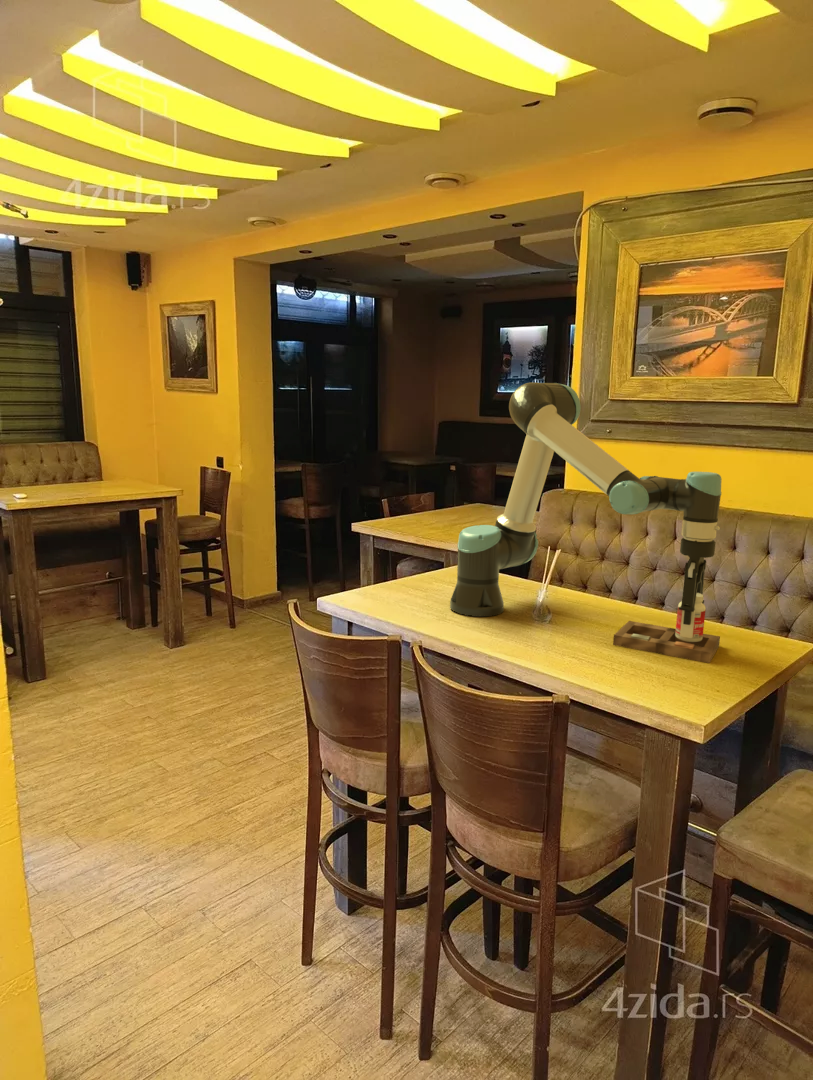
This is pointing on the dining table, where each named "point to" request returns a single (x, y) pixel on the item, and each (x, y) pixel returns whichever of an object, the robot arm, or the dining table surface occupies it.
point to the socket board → (665, 641)
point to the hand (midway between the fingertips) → (689, 632)
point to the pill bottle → (698, 620)
